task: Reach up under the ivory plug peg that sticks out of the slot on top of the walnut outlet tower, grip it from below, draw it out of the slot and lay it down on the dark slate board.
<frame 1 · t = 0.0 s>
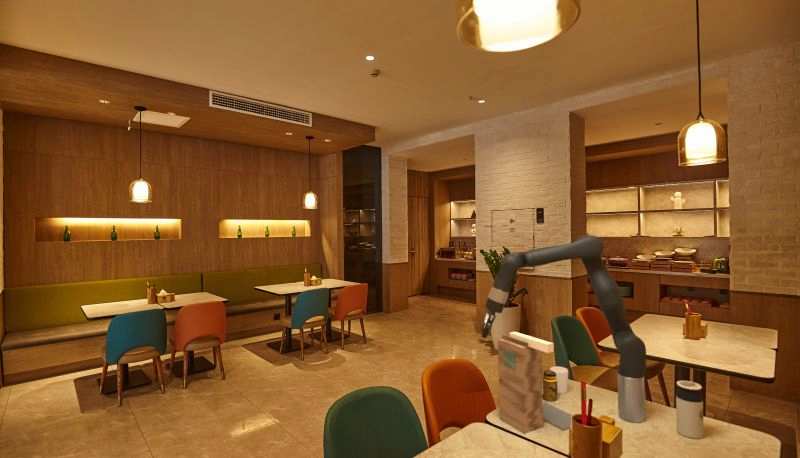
hand: (483, 334, 170), 31 cm above the table, tool tilted 20°, fingers open, 8 cm apart
white cup: (559, 391, 185), on the table
condiment: (548, 399, 177), on the table
travel mug: (690, 434, 146), on the table
ivory plug peg: (530, 345, 151), point 32 cm above the table, touching walnut outlet tower
walnut outlet tower: (521, 422, 157), on the table
slate board: (553, 416, 161), on the table
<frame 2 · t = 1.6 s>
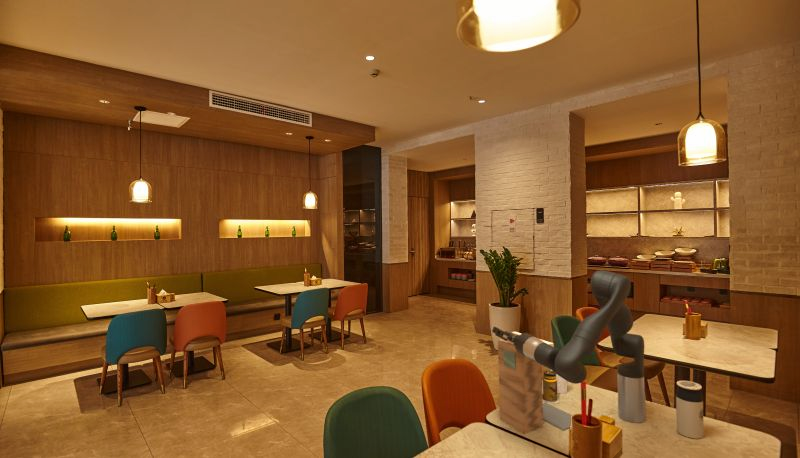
hand: (501, 331, 153), 37 cm above the table, tool horizontal, fingers open, 7 cm apart
nothing on the table moved.
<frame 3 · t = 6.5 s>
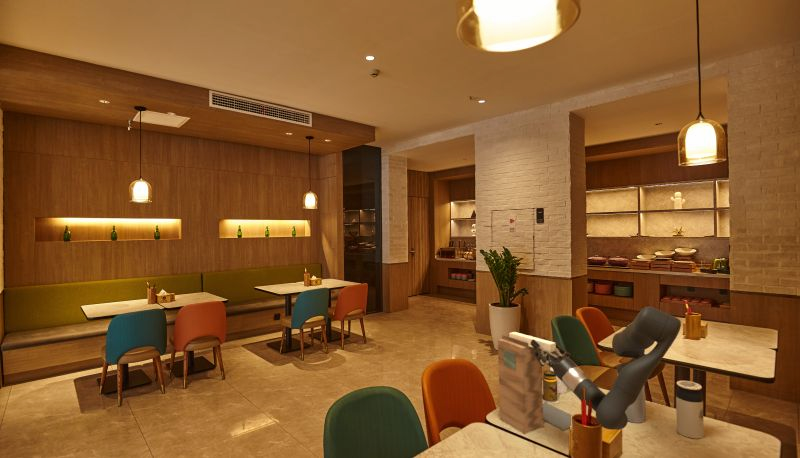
hand: (537, 340, 148), 35 cm above the table, tool pointing upward
ivory plug peg: (531, 345, 151), point 32 cm above the table, touching gripper
everything else where it was.
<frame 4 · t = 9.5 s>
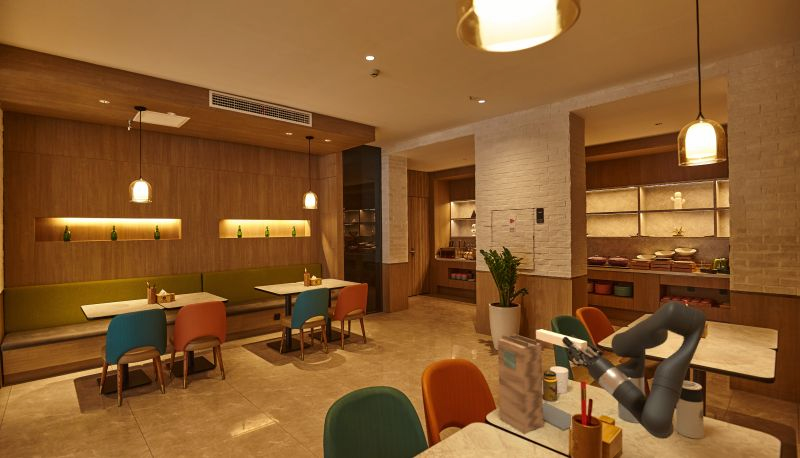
hand: (567, 337, 136), 39 cm above the table, tool pointing upward, fingers closed on ivory plug peg, 3 cm apart
ivory plug peg: (560, 344, 139), point 36 cm above the table, touching gripper
everything else where it was.
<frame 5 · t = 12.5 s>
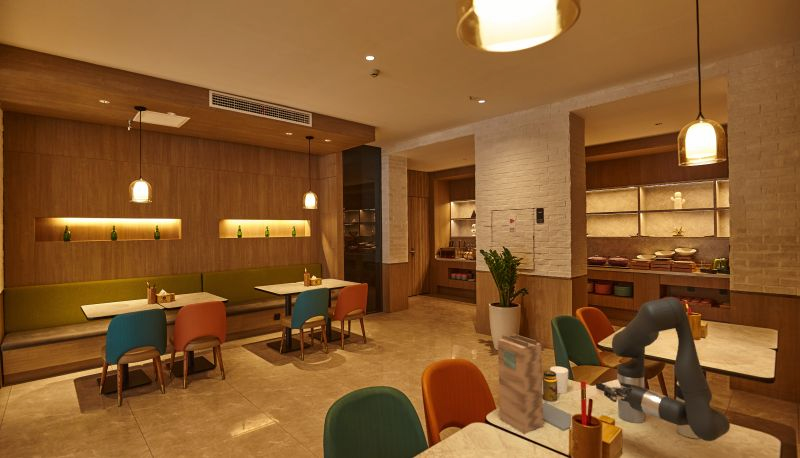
hand: (599, 384, 143), 20 cm above the table, tool horizontal, fingers closed on ivory plug peg, 3 cm apart
ivory plug peg: (597, 394, 143), point 16 cm above the table, tilted 30°, touching gripper
everything else where it was.
when the fingers open (11 cm above the table, at t = 16.8 s): ivory plug peg drops 7 cm, resting on slate board.
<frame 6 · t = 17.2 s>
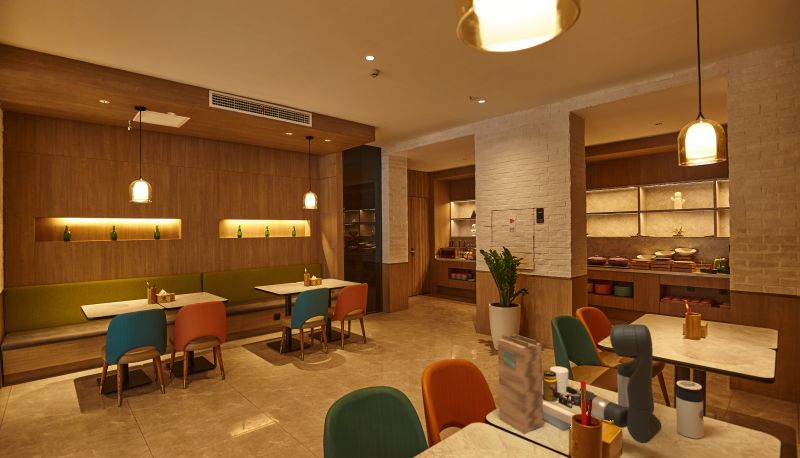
hand: (560, 391, 158), 12 cm above the table, tool horizontal, fingers open, 7 cm apart
ivory plug peg: (562, 418, 158), point 1 cm above the table, touching slate board
everything else where it was.
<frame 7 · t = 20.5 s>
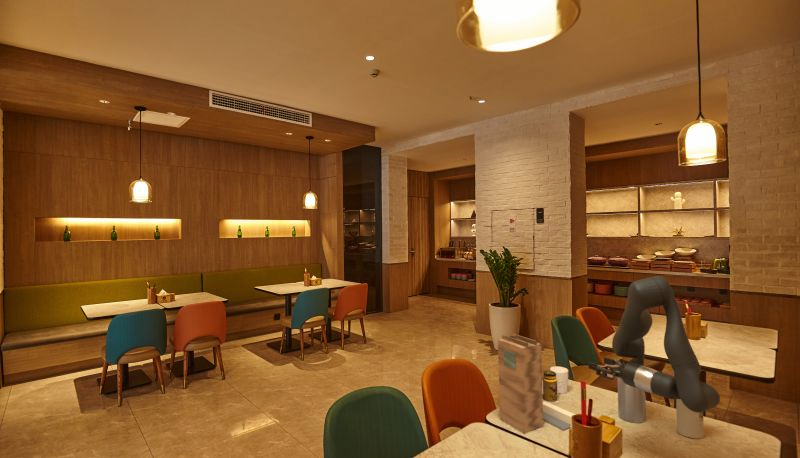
hand: (596, 362, 144), 28 cm above the table, tool horizontal, fingers open, 8 cm apart
nothing on the table moved.
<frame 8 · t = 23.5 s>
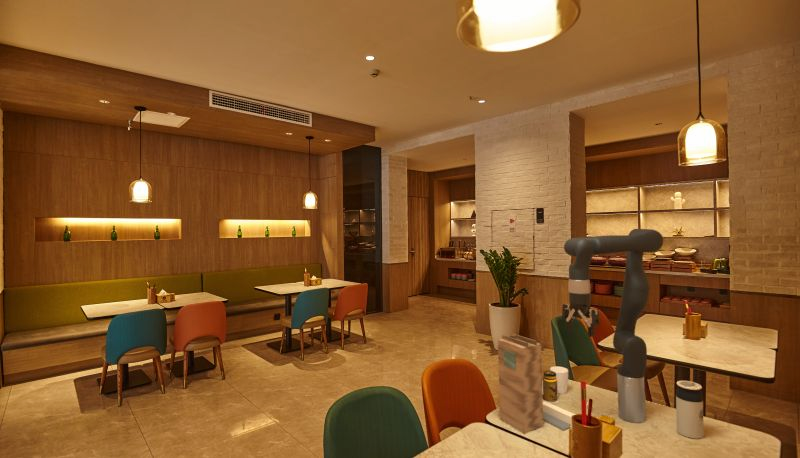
hand: (580, 334, 150), 36 cm above the table, tool pointing down, fingers open, 8 cm apart
nothing on the table moved.
at the end: ivory plug peg inside the target area on the slate board (3.8 cm from its centre), point 0.6 cm above the slate board's base; the gripper is holding nothing; ivory plug peg point 0.6 cm above the table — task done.
